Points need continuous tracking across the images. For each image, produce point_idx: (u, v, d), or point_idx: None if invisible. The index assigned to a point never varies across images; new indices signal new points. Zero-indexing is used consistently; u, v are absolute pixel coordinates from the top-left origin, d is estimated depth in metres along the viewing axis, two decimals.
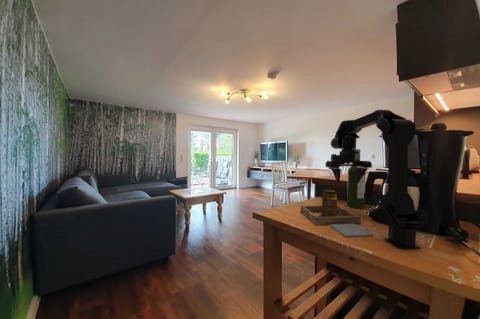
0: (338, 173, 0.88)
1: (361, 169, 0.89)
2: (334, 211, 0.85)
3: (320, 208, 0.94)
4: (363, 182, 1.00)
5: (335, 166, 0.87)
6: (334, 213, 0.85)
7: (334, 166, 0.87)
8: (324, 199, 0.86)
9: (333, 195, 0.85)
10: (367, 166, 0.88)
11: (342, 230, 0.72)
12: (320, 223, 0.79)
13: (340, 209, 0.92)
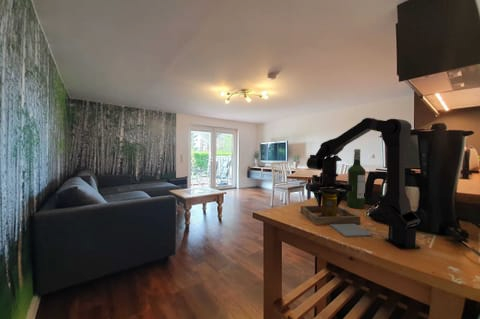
0: (319, 197, 0.84)
1: (340, 192, 0.85)
2: (334, 211, 0.85)
3: (320, 208, 0.94)
4: (363, 182, 1.00)
5: (314, 190, 0.83)
6: (334, 213, 0.85)
7: (313, 190, 0.83)
8: (324, 199, 0.86)
9: (333, 195, 0.85)
10: (348, 189, 0.84)
11: (342, 230, 0.72)
12: (320, 223, 0.79)
13: (340, 209, 0.92)
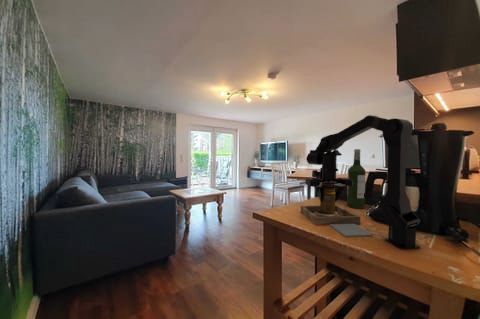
0: (321, 191, 0.84)
1: (339, 187, 0.85)
2: (332, 206, 0.85)
3: None
4: (363, 182, 1.00)
5: (314, 184, 0.83)
6: (332, 208, 0.85)
7: (313, 184, 0.83)
8: None
9: (331, 190, 0.85)
10: (348, 184, 0.84)
11: (342, 230, 0.72)
12: (320, 223, 0.79)
13: (340, 209, 0.92)
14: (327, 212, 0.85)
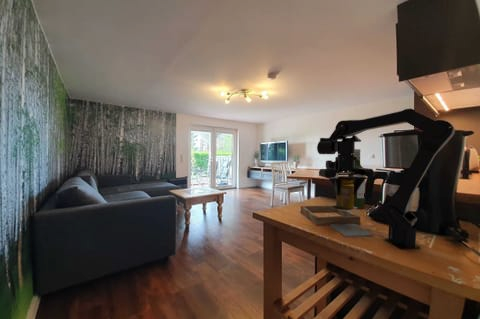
0: (337, 183, 0.73)
1: (358, 178, 0.74)
2: (351, 200, 0.74)
3: (320, 208, 0.94)
4: (363, 182, 1.00)
5: (330, 175, 0.72)
6: (351, 202, 0.74)
7: (328, 175, 0.72)
8: None
9: (349, 181, 0.74)
10: (368, 175, 0.73)
11: (342, 230, 0.72)
12: (320, 223, 0.79)
13: None
14: (345, 207, 0.74)
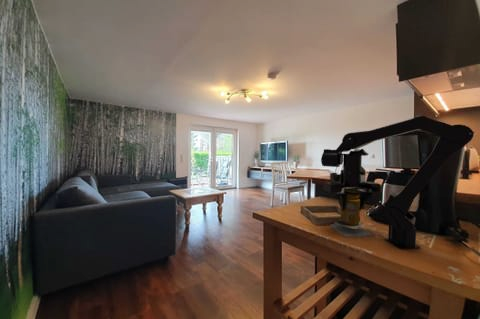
0: (343, 199, 0.70)
1: (364, 193, 0.71)
2: (357, 216, 0.71)
3: (320, 208, 0.94)
4: None
5: (335, 190, 0.69)
6: (357, 218, 0.71)
7: (334, 190, 0.69)
8: None
9: (356, 196, 0.71)
10: (375, 190, 0.70)
11: (342, 230, 0.72)
12: (320, 223, 0.79)
13: (340, 209, 0.92)
14: (350, 223, 0.71)
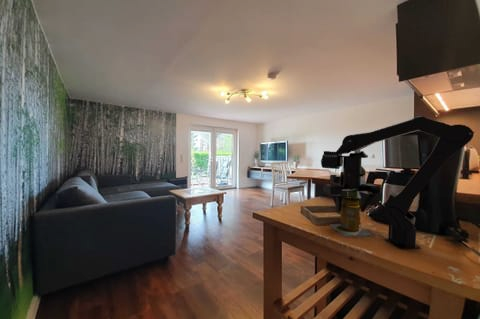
0: (339, 201, 0.70)
1: (367, 195, 0.71)
2: (356, 222, 0.71)
3: (320, 208, 0.94)
4: (363, 182, 1.00)
5: (335, 193, 0.69)
6: (357, 224, 0.71)
7: (334, 193, 0.69)
8: (344, 207, 0.72)
9: (355, 202, 0.71)
10: (375, 192, 0.70)
11: None
12: (320, 223, 0.79)
13: None
14: (350, 229, 0.71)
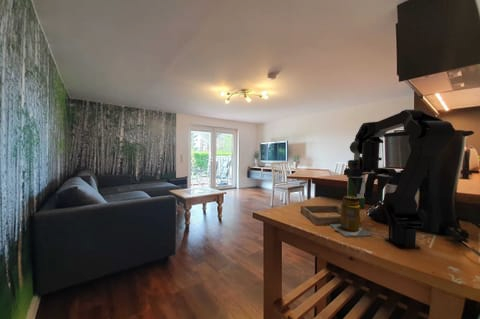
0: (359, 183, 0.77)
1: (384, 178, 0.78)
2: (356, 222, 0.71)
3: (320, 208, 0.94)
4: (363, 182, 1.00)
5: (357, 175, 0.75)
6: (357, 224, 0.71)
7: (356, 175, 0.75)
8: (344, 207, 0.72)
9: (355, 203, 0.71)
10: (391, 174, 0.77)
11: None
12: (320, 223, 0.79)
13: (340, 209, 0.92)
14: (350, 229, 0.71)
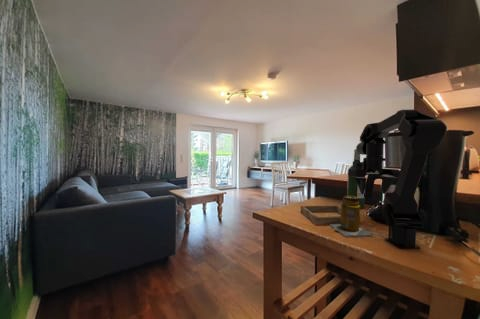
0: (363, 183, 0.78)
1: (389, 178, 0.79)
2: (356, 222, 0.71)
3: (320, 208, 0.94)
4: None
5: (360, 175, 0.77)
6: (357, 224, 0.71)
7: (359, 175, 0.77)
8: (344, 207, 0.72)
9: (355, 202, 0.71)
10: (396, 175, 0.78)
11: None
12: (320, 223, 0.79)
13: (340, 209, 0.92)
14: (350, 229, 0.71)
